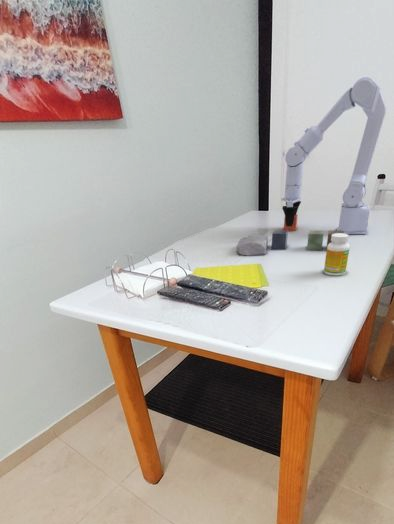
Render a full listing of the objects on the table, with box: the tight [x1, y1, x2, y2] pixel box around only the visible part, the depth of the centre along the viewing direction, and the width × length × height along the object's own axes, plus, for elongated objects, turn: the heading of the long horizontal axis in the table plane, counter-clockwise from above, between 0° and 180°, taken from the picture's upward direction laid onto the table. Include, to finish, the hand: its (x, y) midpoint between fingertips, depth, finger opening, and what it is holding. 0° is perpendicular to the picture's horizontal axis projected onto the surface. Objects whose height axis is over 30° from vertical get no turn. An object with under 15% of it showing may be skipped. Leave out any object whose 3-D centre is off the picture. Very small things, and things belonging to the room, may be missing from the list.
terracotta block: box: [283, 214, 299, 232], centre depth 130 cm, size 4×4×5 cm
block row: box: [271, 229, 344, 251], centre depth 108 cm, size 21×4×5 cm, turn 70°
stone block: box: [236, 234, 269, 257], centre depth 111 cm, size 12×5×10 cm
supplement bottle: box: [323, 233, 351, 277], centre depth 87 cm, size 5×5×10 cm
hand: (290, 223), depth 130 cm, fingers open, 7 cm apart
